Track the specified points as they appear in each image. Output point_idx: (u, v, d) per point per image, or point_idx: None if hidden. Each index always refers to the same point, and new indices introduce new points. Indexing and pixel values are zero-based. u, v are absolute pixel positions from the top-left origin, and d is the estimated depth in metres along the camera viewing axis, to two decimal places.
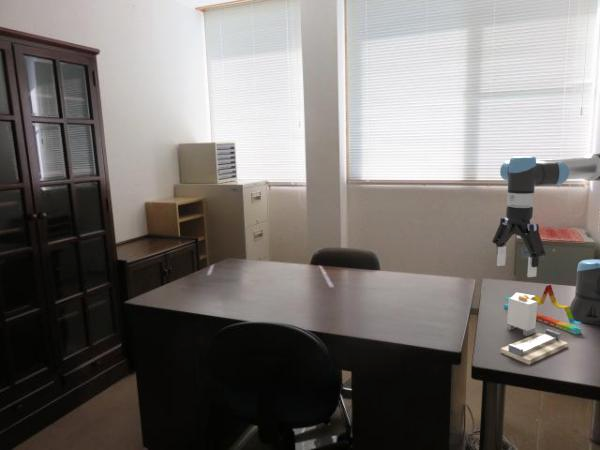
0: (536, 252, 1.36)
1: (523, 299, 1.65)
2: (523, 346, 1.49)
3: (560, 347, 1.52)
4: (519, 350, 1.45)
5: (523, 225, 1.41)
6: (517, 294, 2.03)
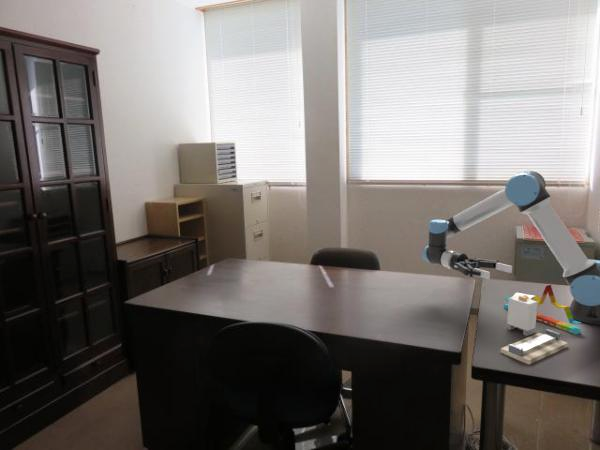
0: None
1: (523, 299, 1.65)
2: (523, 346, 1.49)
3: (560, 347, 1.52)
4: (519, 350, 1.45)
5: None
6: (517, 294, 2.03)
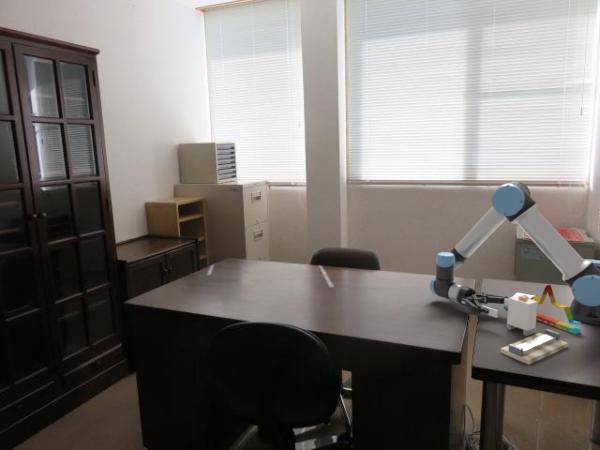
0: None
1: (523, 299, 1.65)
2: (523, 346, 1.49)
3: (560, 347, 1.52)
4: (519, 350, 1.45)
5: None
6: (518, 294, 2.03)
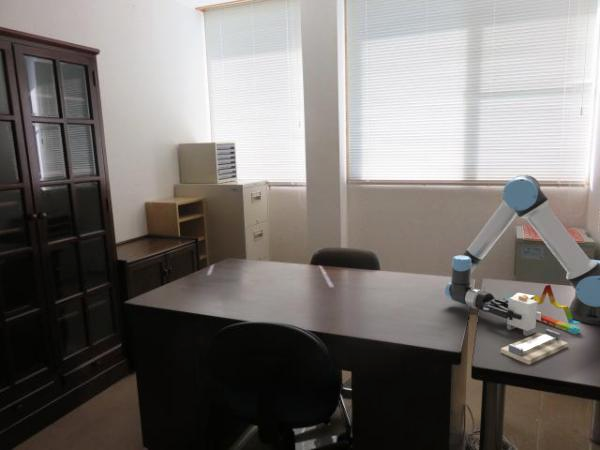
0: None
1: (523, 299, 1.65)
2: (523, 346, 1.49)
3: (560, 347, 1.52)
4: (519, 350, 1.45)
5: None
6: (518, 294, 2.03)
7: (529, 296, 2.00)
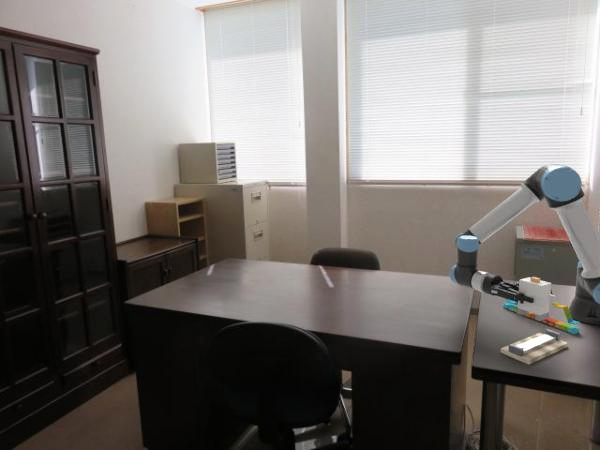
0: None
1: (535, 280, 1.49)
2: (523, 346, 1.49)
3: (560, 347, 1.52)
4: (519, 350, 1.45)
5: None
6: None
7: None
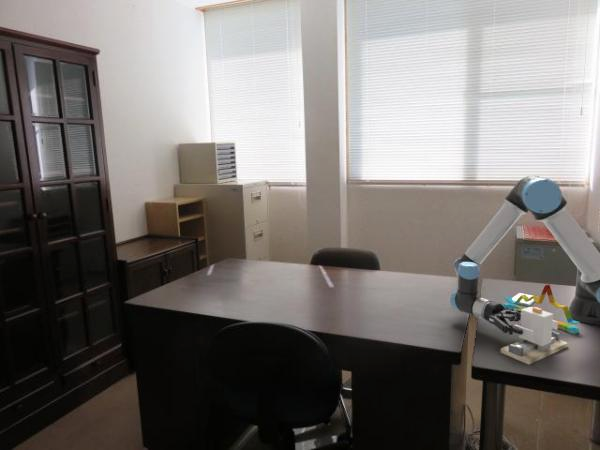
0: None
1: (537, 311, 1.49)
2: (523, 346, 1.49)
3: (560, 347, 1.52)
4: (519, 350, 1.45)
5: None
6: (519, 294, 2.03)
7: (530, 296, 2.00)
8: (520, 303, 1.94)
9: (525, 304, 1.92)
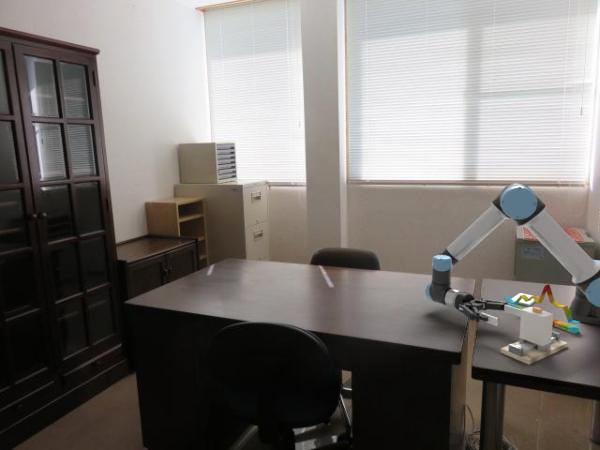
0: None
1: (537, 311, 1.49)
2: (523, 346, 1.49)
3: (560, 347, 1.52)
4: (519, 350, 1.45)
5: None
6: (520, 294, 2.02)
7: None
8: (520, 303, 1.93)
9: (525, 304, 1.92)
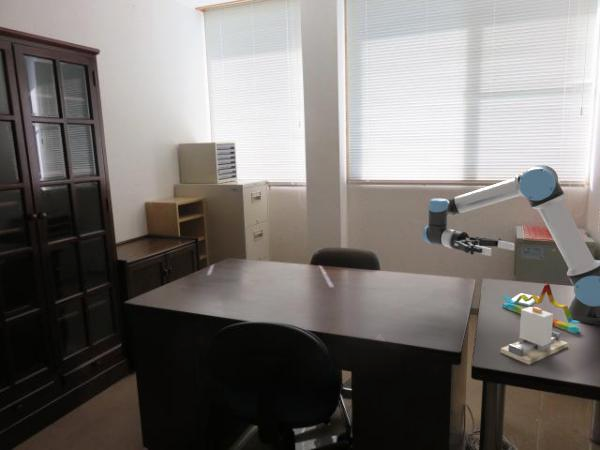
0: None
1: (537, 311, 1.49)
2: (523, 346, 1.49)
3: (560, 347, 1.52)
4: (519, 350, 1.45)
5: None
6: None
7: None
8: (520, 303, 1.93)
9: (525, 304, 1.92)
